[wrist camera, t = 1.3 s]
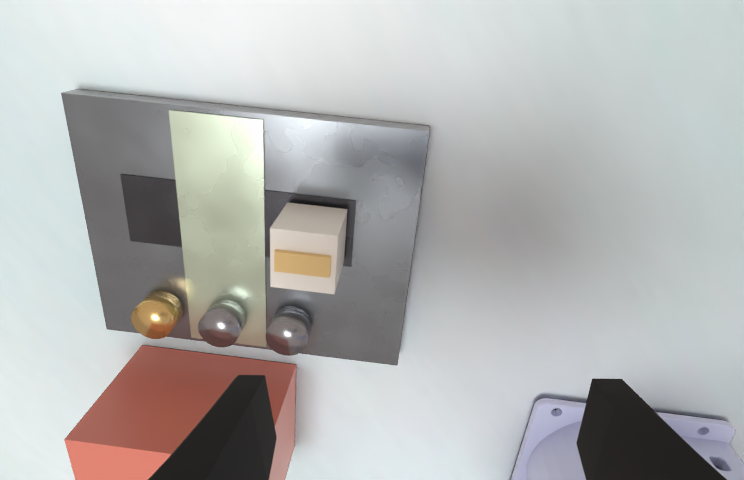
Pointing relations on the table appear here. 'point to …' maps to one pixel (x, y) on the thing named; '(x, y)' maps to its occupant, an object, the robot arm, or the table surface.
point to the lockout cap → (170, 411)
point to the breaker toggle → (307, 248)
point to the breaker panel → (244, 220)
